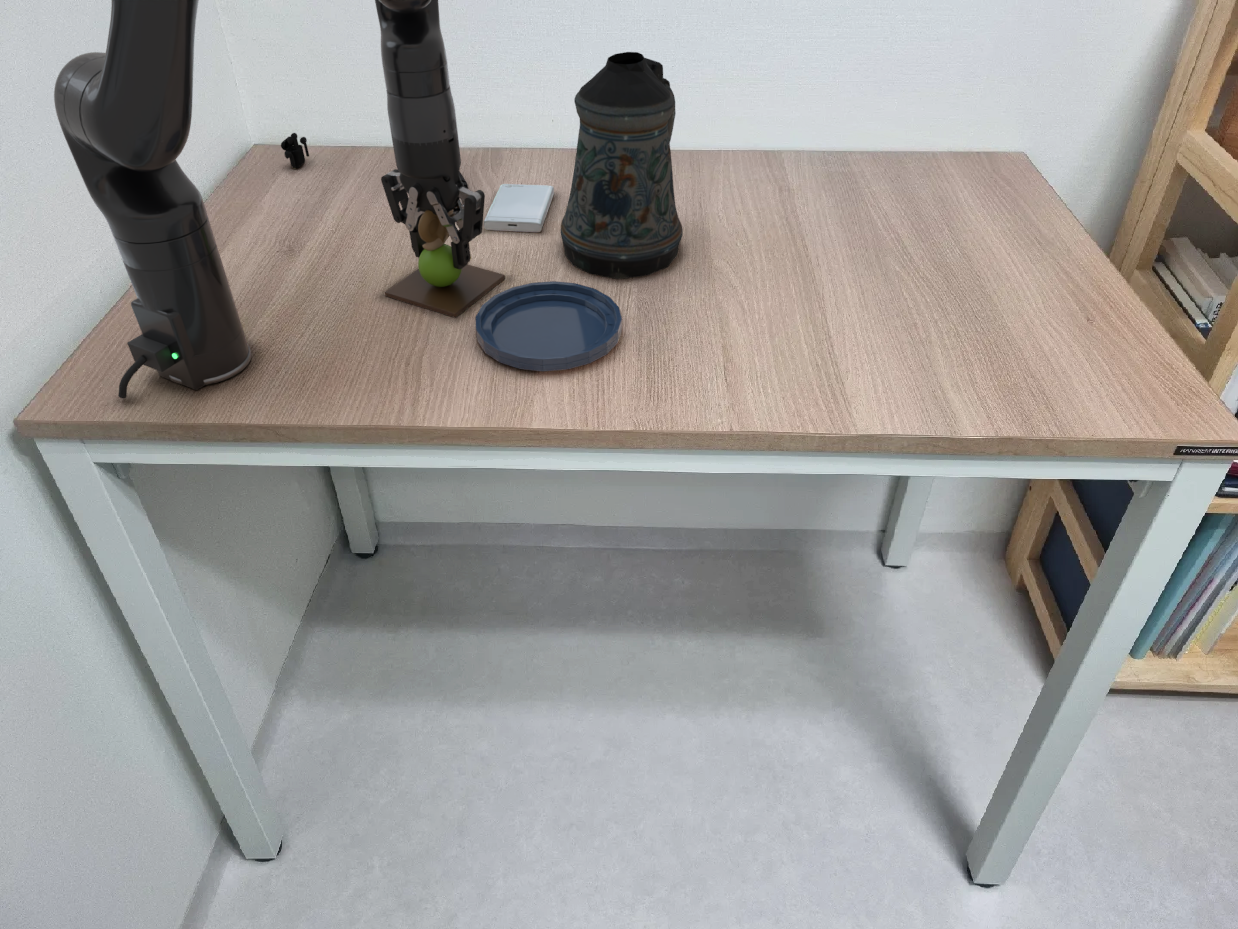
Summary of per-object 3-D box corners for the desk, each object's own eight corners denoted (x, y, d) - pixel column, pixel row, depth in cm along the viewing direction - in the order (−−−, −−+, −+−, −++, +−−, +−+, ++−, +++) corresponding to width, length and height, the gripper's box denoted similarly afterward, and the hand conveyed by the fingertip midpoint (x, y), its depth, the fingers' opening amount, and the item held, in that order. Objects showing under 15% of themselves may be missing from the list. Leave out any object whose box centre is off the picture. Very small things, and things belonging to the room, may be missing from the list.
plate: (575, 390, 101) (574, 374, 100) (448, 349, 107) (446, 333, 106) (645, 318, 113) (646, 302, 111) (527, 284, 119) (526, 269, 117)
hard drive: (500, 183, 139) (483, 219, 129) (553, 185, 138) (540, 221, 129) (501, 193, 140) (484, 230, 130) (554, 195, 139) (541, 232, 130)
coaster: (455, 317, 113) (455, 313, 112) (385, 296, 117) (384, 291, 116) (505, 278, 120) (505, 274, 120) (437, 259, 124) (436, 255, 124)
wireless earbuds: (293, 175, 145) (286, 143, 142) (279, 173, 145) (271, 142, 142) (312, 157, 150) (306, 127, 147) (298, 156, 150) (291, 125, 147)
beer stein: (556, 278, 120) (547, 82, 104) (567, 213, 135) (560, 31, 118) (682, 281, 120) (693, 83, 103) (679, 215, 134) (688, 33, 118)
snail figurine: (477, 277, 119) (467, 189, 111) (445, 298, 115) (433, 209, 107) (445, 266, 121) (433, 179, 113) (412, 287, 117) (398, 198, 109)
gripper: (353, 127, 105) (378, 260, 116) (455, 150, 100) (471, 287, 111) (394, 106, 110) (415, 236, 121) (494, 128, 105) (506, 261, 116)
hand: (442, 260), depth 116 cm, fingers closed on snail figurine, 5 cm apart
